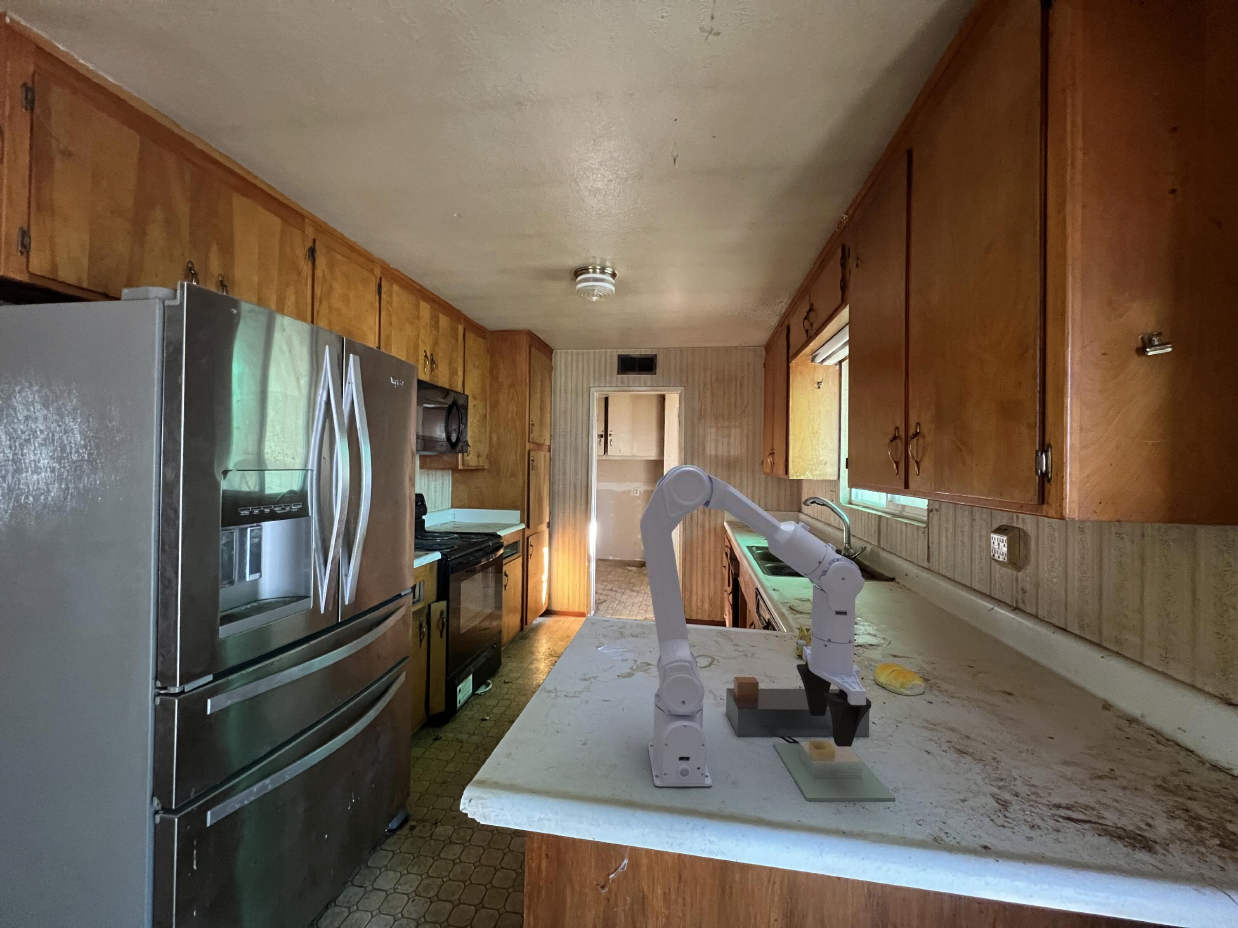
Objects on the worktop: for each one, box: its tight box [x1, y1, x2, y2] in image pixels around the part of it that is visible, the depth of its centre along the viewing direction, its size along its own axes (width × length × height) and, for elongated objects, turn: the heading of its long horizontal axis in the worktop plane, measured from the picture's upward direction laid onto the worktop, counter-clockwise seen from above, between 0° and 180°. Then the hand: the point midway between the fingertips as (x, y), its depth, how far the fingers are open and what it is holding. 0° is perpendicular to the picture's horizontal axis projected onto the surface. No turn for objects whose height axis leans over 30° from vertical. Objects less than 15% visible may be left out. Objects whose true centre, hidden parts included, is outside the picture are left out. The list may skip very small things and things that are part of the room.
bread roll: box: [873, 662, 925, 696], centre depth 95 cm, size 8×9×4 cm
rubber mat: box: [772, 742, 896, 802], centre depth 67 cm, size 12×12×1 cm
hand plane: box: [725, 676, 871, 738], centre depth 79 cm, size 7×22×8 cm, turn 92°
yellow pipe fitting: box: [794, 625, 811, 664], centre depth 107 cm, size 13×10×10 cm
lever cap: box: [798, 739, 863, 779], centre depth 67 cm, size 5×7×3 cm, turn 92°
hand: (829, 728), depth 67 cm, fingers open, 7 cm apart
